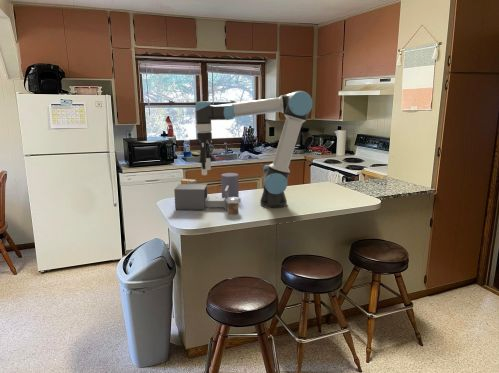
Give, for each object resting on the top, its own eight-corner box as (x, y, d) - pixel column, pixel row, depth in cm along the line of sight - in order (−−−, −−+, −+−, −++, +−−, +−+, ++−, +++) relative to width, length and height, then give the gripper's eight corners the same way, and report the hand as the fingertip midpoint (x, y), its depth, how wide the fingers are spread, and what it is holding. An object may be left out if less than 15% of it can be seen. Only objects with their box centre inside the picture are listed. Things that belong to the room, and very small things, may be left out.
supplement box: (181, 201, 224) (180, 180, 221) (185, 199, 228) (184, 178, 225) (193, 202, 221) (192, 181, 218) (197, 200, 225) (196, 179, 222)
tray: (229, 204, 217) (228, 185, 214) (227, 210, 205) (226, 190, 203) (202, 204, 217) (201, 185, 215) (199, 210, 206) (198, 190, 203)
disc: (241, 199, 205) (241, 196, 204) (240, 203, 197) (240, 200, 196) (226, 199, 205) (226, 196, 204) (224, 203, 197) (224, 200, 197)
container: (220, 197, 233) (219, 173, 229) (236, 195, 236) (235, 172, 232) (224, 201, 223) (223, 176, 220) (240, 200, 226) (240, 175, 223)
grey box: (207, 204, 217) (206, 184, 215) (204, 210, 206) (203, 189, 203) (180, 204, 218) (179, 184, 215) (175, 210, 206) (174, 189, 203)
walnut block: (238, 211, 205) (238, 200, 203) (237, 213, 200) (237, 203, 198) (229, 211, 205) (228, 200, 203) (228, 213, 200) (228, 203, 198)
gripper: (201, 130, 206) (203, 168, 211) (192, 134, 182) (195, 177, 187) (214, 129, 206) (216, 167, 211) (207, 134, 182) (210, 177, 187)
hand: (206, 172), depth 199 cm, fingers open, 13 cm apart
